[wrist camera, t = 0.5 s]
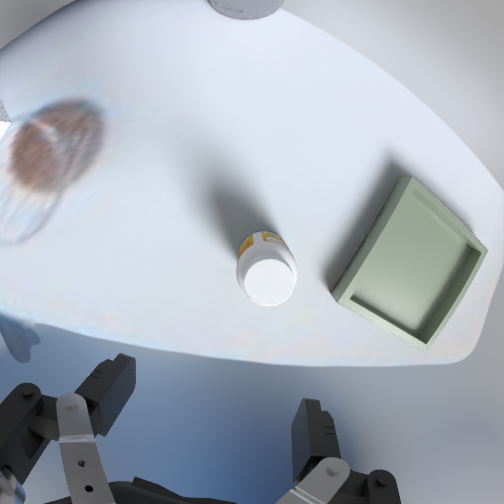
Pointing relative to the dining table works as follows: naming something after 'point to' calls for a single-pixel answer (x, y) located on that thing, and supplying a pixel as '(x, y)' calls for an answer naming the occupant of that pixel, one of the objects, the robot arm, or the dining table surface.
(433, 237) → the tray
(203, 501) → the robot arm
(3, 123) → the milk
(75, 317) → the dining table surface
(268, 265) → the supplement bottle
